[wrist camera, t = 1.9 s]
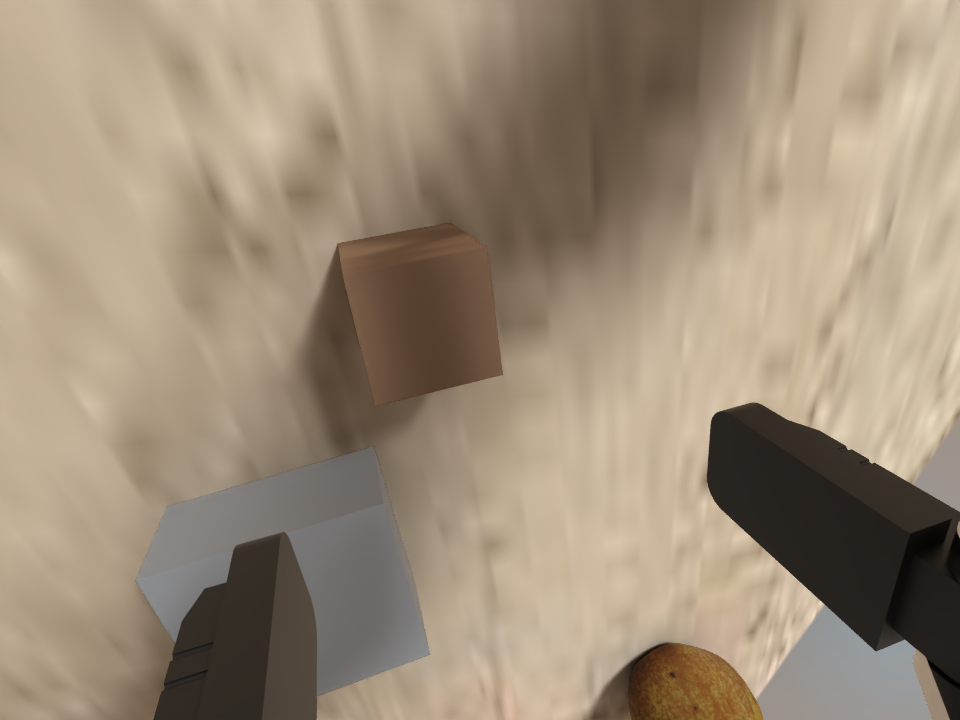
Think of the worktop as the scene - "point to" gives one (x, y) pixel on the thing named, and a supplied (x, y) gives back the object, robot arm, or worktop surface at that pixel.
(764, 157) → the worktop surface
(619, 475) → the worktop surface
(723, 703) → the fruit
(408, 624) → the base block
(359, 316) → the walnut block
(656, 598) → the worktop surface
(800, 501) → the robot arm
